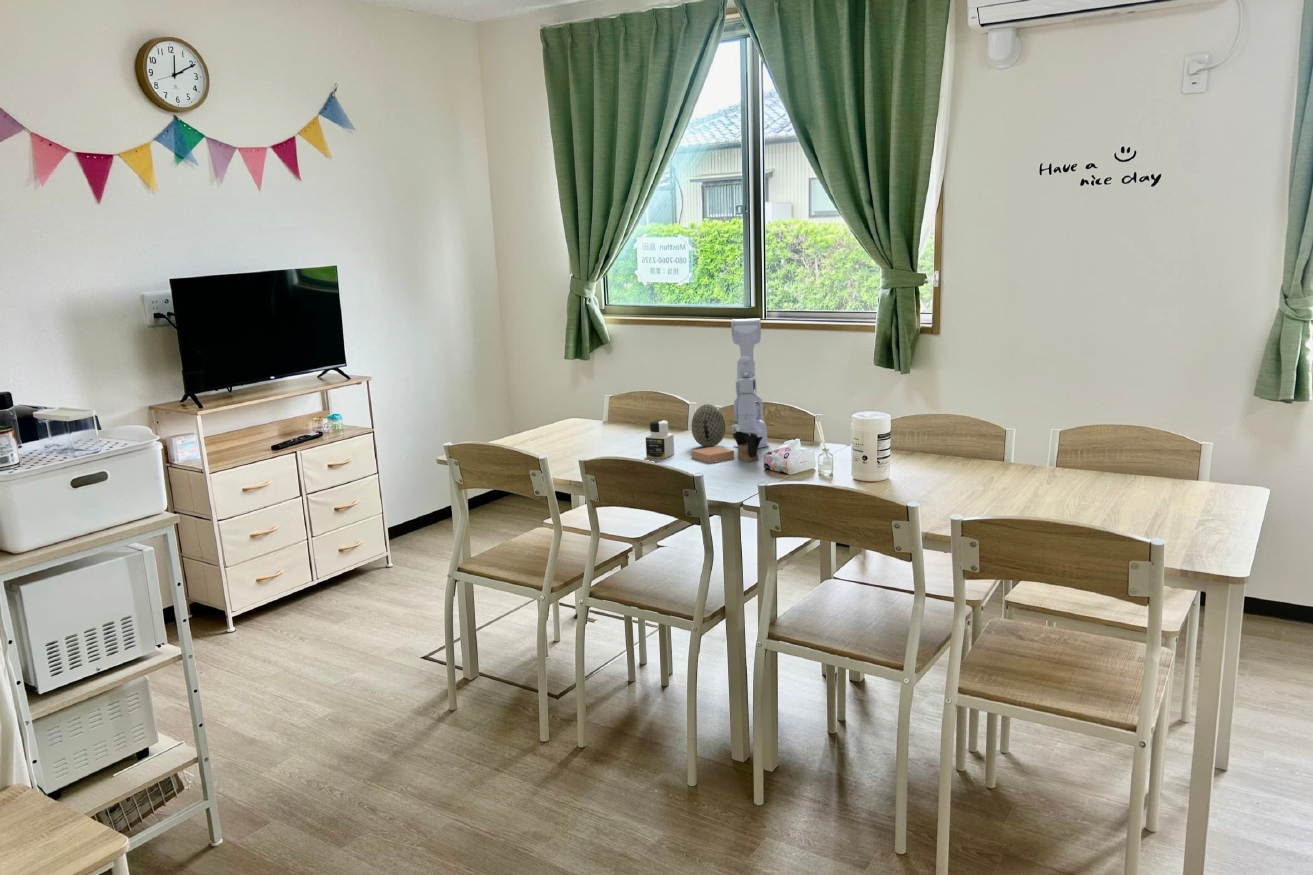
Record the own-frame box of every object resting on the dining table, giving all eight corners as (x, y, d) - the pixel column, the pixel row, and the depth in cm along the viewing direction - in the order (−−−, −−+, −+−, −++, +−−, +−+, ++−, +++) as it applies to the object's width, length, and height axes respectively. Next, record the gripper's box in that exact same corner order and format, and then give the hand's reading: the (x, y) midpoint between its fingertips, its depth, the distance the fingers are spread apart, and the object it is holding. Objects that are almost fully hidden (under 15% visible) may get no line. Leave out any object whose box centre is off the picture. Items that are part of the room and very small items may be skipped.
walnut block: (749, 457, 314) (749, 442, 313) (758, 459, 310) (757, 444, 309) (738, 459, 312) (737, 444, 311) (746, 462, 308) (746, 446, 307)
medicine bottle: (646, 457, 321) (644, 422, 319) (656, 452, 328) (654, 418, 325) (665, 458, 318) (663, 423, 316) (674, 454, 324) (673, 419, 322)
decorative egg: (724, 450, 326) (722, 407, 323) (690, 450, 328) (688, 407, 325) (727, 443, 338) (725, 401, 335) (694, 443, 340) (692, 401, 337)
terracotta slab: (716, 454, 323) (716, 446, 322) (734, 459, 314) (733, 450, 314) (691, 459, 318) (691, 450, 317) (709, 464, 309) (708, 455, 309)
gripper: (723, 413, 312) (724, 453, 315) (750, 419, 300) (751, 461, 303) (740, 410, 316) (742, 450, 318) (768, 415, 304) (769, 457, 306)
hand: (748, 455), depth 311 cm, fingers closed on walnut block, 5 cm apart
